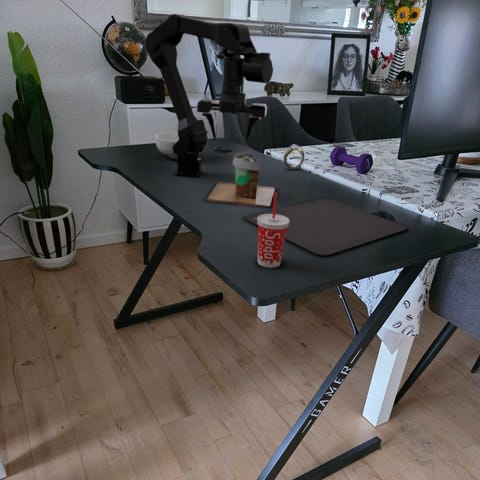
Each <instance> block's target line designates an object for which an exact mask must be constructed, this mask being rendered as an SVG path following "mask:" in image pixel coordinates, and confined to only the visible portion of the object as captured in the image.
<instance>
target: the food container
mask: <svg viewBox="0 0 480 480" xmlns="http://www.w3.org/2000/svg"><path fill="white" fill-rule="evenodd" d="M253 153H254V152H253V151H245V152H244V151H243V152H239V153H236V154H235V155H234V157H233V160H232V165H233V166H234V179H235V183H234V184H235V190H236V195H238V196H240V197H243V198H248V199H256V192H257V186H258V181H259V173H260V172H259V171H260V161H257V160H256V158H255V157H254V155H253Z"/></svg>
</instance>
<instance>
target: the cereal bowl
mask: <svg viewBox="0 0 480 480" xmlns="http://www.w3.org/2000/svg"><path fill="white" fill-rule="evenodd" d="M154 140H155V145H156V148H157V150H158V151H159V152H160V153H162V154H163V155H165V156H167V157H168V158H170V159H173V160H177V155H176V154H174V152H173V148H172V147H173V145H174V144H175V143H176V142H177V141H178V140H179V137H178V130H174V131H163V132H158V133H156V134H155V136H154Z"/></svg>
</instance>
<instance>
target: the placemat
mask: <svg viewBox="0 0 480 480" xmlns="http://www.w3.org/2000/svg"><path fill="white" fill-rule="evenodd" d="M275 191H276V187H271V186H262V185H257V192H256V199H248V198H243V197H240V196H238V195H236V190H235V183H233V182H232V183H231V182H221V181H218V182H217V183H216V185H215V186H214V188H213V189H212V191H211V192H210V194H209V195H208V197H207V198H206V202H212V203H213V202H214V203H222V204H231V205H239V206H240V205H241V206H251V207H261V208H268V209H269V208H270V207H271V204H272V200H273V199H274V195H275Z"/></svg>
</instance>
